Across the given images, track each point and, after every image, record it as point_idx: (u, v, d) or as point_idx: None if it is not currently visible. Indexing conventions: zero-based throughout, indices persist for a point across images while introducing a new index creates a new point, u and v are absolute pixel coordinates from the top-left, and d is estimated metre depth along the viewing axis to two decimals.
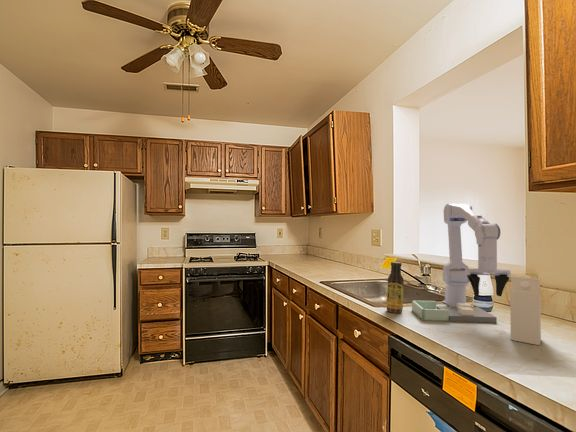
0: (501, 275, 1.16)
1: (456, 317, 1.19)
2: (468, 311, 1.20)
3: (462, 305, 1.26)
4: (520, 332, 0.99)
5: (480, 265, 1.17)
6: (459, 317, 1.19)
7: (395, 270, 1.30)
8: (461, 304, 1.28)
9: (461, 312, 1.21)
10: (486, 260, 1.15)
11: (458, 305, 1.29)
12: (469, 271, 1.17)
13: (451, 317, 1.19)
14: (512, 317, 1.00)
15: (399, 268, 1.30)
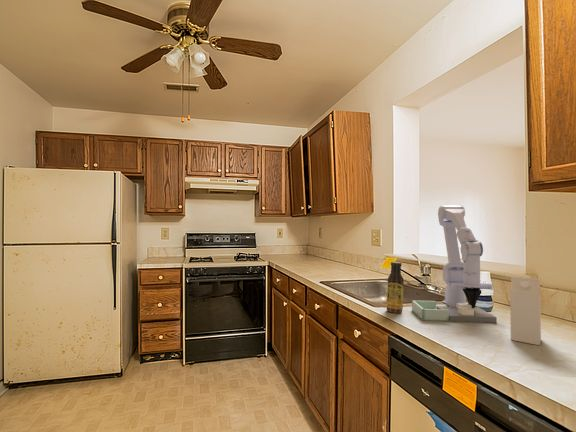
0: (474, 289, 1.27)
1: (456, 317, 1.19)
2: (468, 311, 1.20)
3: (462, 305, 1.26)
4: (520, 332, 0.99)
5: (465, 279, 1.28)
6: (459, 317, 1.19)
7: (395, 270, 1.30)
8: (461, 304, 1.28)
9: (461, 312, 1.21)
10: (470, 275, 1.26)
11: (458, 305, 1.29)
12: (455, 285, 1.28)
13: (451, 317, 1.19)
14: (512, 317, 1.00)
15: (399, 268, 1.30)
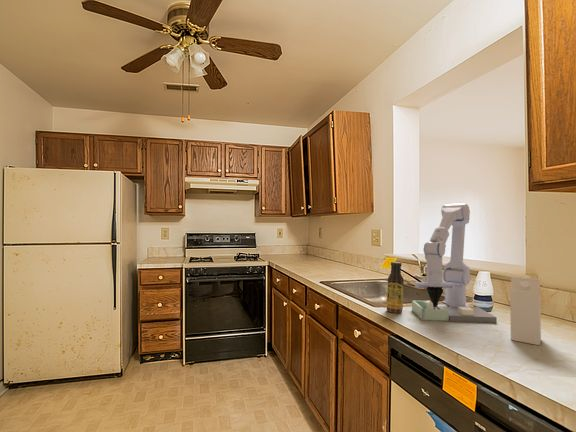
0: (437, 288, 1.28)
1: (456, 317, 1.19)
2: (468, 311, 1.20)
3: None
4: (520, 332, 0.99)
5: (427, 279, 1.29)
6: (459, 317, 1.19)
7: (395, 270, 1.30)
8: None
9: (461, 312, 1.21)
10: (432, 274, 1.27)
11: None
12: (418, 284, 1.29)
13: (451, 317, 1.19)
14: (512, 317, 1.00)
15: (399, 268, 1.30)
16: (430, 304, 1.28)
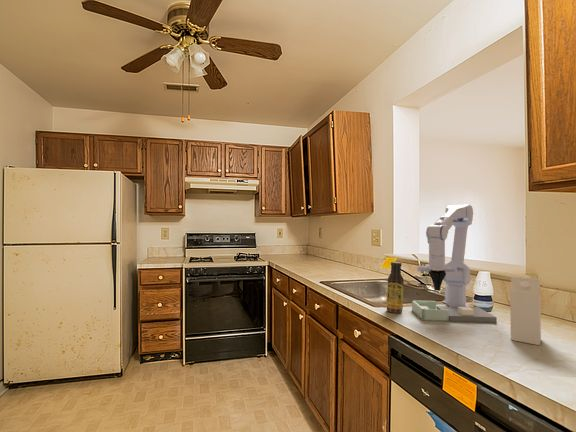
0: (439, 271, 1.29)
1: (456, 317, 1.19)
2: (468, 311, 1.20)
3: None
4: (520, 332, 0.99)
5: (430, 262, 1.29)
6: (459, 317, 1.19)
7: (395, 270, 1.30)
8: None
9: (461, 312, 1.21)
10: (435, 258, 1.27)
11: None
12: (420, 268, 1.29)
13: (451, 317, 1.19)
14: (512, 317, 1.00)
15: (399, 268, 1.30)
16: None
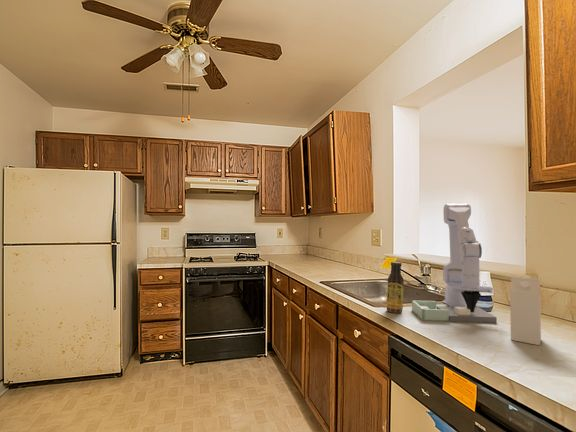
0: (473, 292, 1.21)
1: (456, 317, 1.19)
2: (464, 311, 1.20)
3: None
4: (520, 332, 0.99)
5: (463, 282, 1.21)
6: (459, 317, 1.19)
7: (395, 270, 1.30)
8: None
9: (457, 312, 1.21)
10: (469, 278, 1.20)
11: None
12: (453, 288, 1.22)
13: (451, 317, 1.19)
14: (512, 317, 1.00)
15: (399, 268, 1.30)
16: None
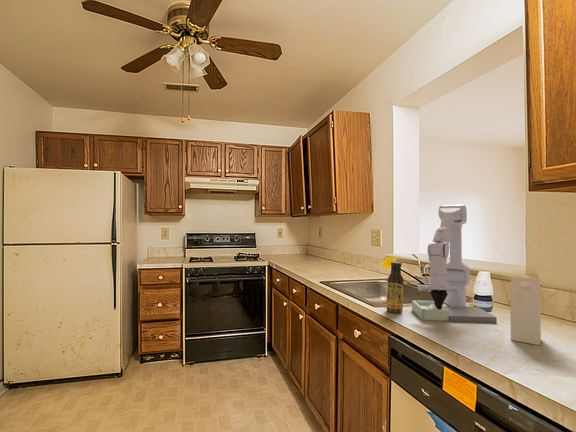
0: (441, 291, 1.22)
1: (456, 317, 1.19)
2: None
3: None
4: (520, 332, 0.99)
5: (431, 281, 1.23)
6: (459, 317, 1.19)
7: (395, 270, 1.30)
8: None
9: None
10: (436, 277, 1.21)
11: None
12: (421, 287, 1.23)
13: (451, 317, 1.19)
14: (512, 317, 1.00)
15: (399, 268, 1.30)
16: None
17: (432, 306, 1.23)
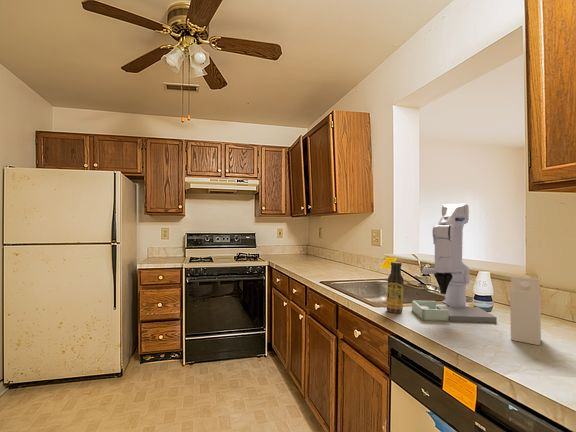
0: (446, 274, 1.22)
1: (456, 317, 1.19)
2: None
3: None
4: (520, 332, 0.99)
5: (436, 264, 1.23)
6: (459, 317, 1.19)
7: (395, 270, 1.30)
8: None
9: None
10: (441, 259, 1.21)
11: None
12: (425, 270, 1.23)
13: (451, 317, 1.19)
14: (512, 317, 1.00)
15: (399, 268, 1.30)
16: None
17: None
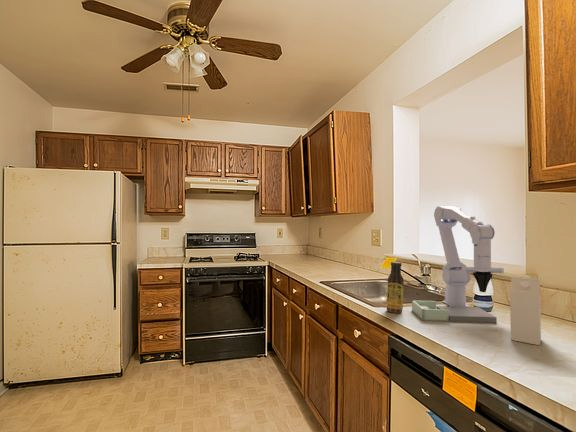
0: (485, 272, 1.25)
1: (456, 317, 1.19)
2: None
3: None
4: (520, 332, 0.99)
5: (475, 263, 1.25)
6: (459, 317, 1.19)
7: (395, 270, 1.30)
8: None
9: None
10: (481, 258, 1.24)
11: None
12: (465, 269, 1.26)
13: (451, 317, 1.19)
14: (512, 317, 1.00)
15: (399, 268, 1.30)
16: None
17: None
